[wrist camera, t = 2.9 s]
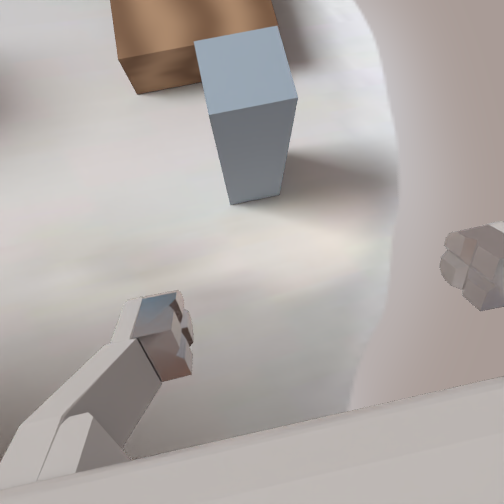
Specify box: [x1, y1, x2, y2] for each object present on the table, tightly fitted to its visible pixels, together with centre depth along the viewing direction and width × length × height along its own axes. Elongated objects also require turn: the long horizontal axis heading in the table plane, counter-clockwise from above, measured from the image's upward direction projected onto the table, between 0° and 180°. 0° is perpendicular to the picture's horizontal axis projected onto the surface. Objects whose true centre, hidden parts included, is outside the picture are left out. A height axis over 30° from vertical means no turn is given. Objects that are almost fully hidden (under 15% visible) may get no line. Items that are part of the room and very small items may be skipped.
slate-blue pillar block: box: [194, 26, 298, 205], centre depth 21 cm, size 4×4×12 cm
